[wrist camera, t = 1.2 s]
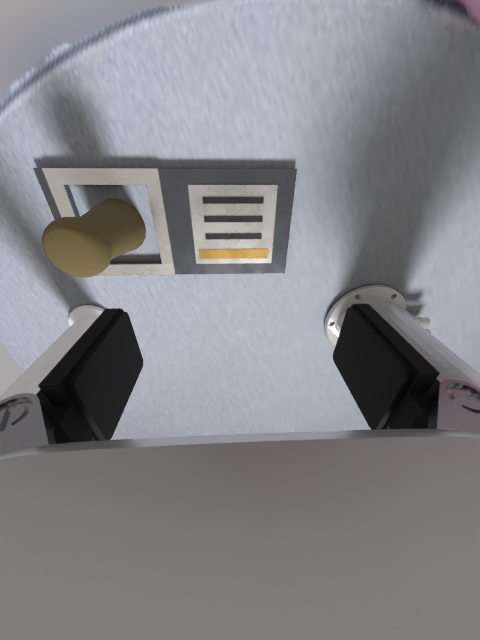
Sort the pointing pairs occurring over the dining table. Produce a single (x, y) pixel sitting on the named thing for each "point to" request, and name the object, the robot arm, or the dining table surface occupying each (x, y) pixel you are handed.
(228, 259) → the panel
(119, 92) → the dining table surface
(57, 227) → the cork
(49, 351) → the candle
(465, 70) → the dining table surface
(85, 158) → the dining table surface
